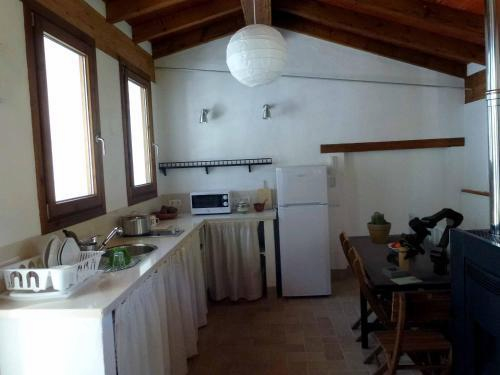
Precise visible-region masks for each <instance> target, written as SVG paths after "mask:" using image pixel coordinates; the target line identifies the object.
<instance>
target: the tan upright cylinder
mask: <svg viewBox="0 0 500 375" xmlns="http://www.w3.org/2000/svg"><path fill="white" fill-rule="evenodd" d="M397 250H398V251H397V252H398V256H399V257H398V262H399V269H400V270H403V271H406V272H407V271H409V270H410V260H409V259H410V258H409V259H407V260H404V257H405V256H406V254H407V253H408V251H409V249H408V248H407V247H401V246H399V247H398V249H397Z"/></svg>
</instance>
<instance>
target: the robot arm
mask: <svg viewBox="0 0 500 375" xmlns="http://www.w3.org/2000/svg"><path fill="white" fill-rule="evenodd" d="M444 219H445V221H446V222H445V223H446V226H445V228H444V230H443V232H442V234H441V236H440V237H441V238H440V239H439V241H438V244H437V245H436V246H434V245H433V246H432V248H431V250H430V251H429V258H430V262H431V263H433V265H432V266H433V267H432V268H433V271H432V273H433V274H435V275H437V276H444V274H446V275H449V274H450V273H449V272H448V265H450V263H451V259H450V258H449V257H448V252H447V250H448V247H449V244H450V242H449V229H450V228H455V229H457V228H459V226H461V225H462V223H463V221H464V216H463V214H462V213H461V212H458V211H455V210H454V209H453V208H451V207H450V208H448V207H444V208H443V207H442V209H441V210H440V211H439V210H438V212H436V213H434V214H432V215H429V216H424V217H421V219H420V217H418V216H414V218H412V219H411V220H409V221H408V226H409V227H410V228H411V230H412V231H413V232H414V234H412V233H409V234H407V233H405V232H402V233H401V236H400V238H399V239H398V240H397V243H399V245H400V247H407V248H408V250H409V251H408V253H407V254H406V256H405V257H404V260H407V259H411V258H414V257H416V256H419V255H421V256H424V255H425V254H426V250H425V249H424V248H423V247H422V246H421V244H424V243H425V242H424V241H425V239H426V238H427V237H432V231H431V230H433V229H434V228H435V227H437V226H438V223H439V222H441V221H442V220H444ZM429 229H431V230H429ZM398 258H399V255H398Z"/></svg>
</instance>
